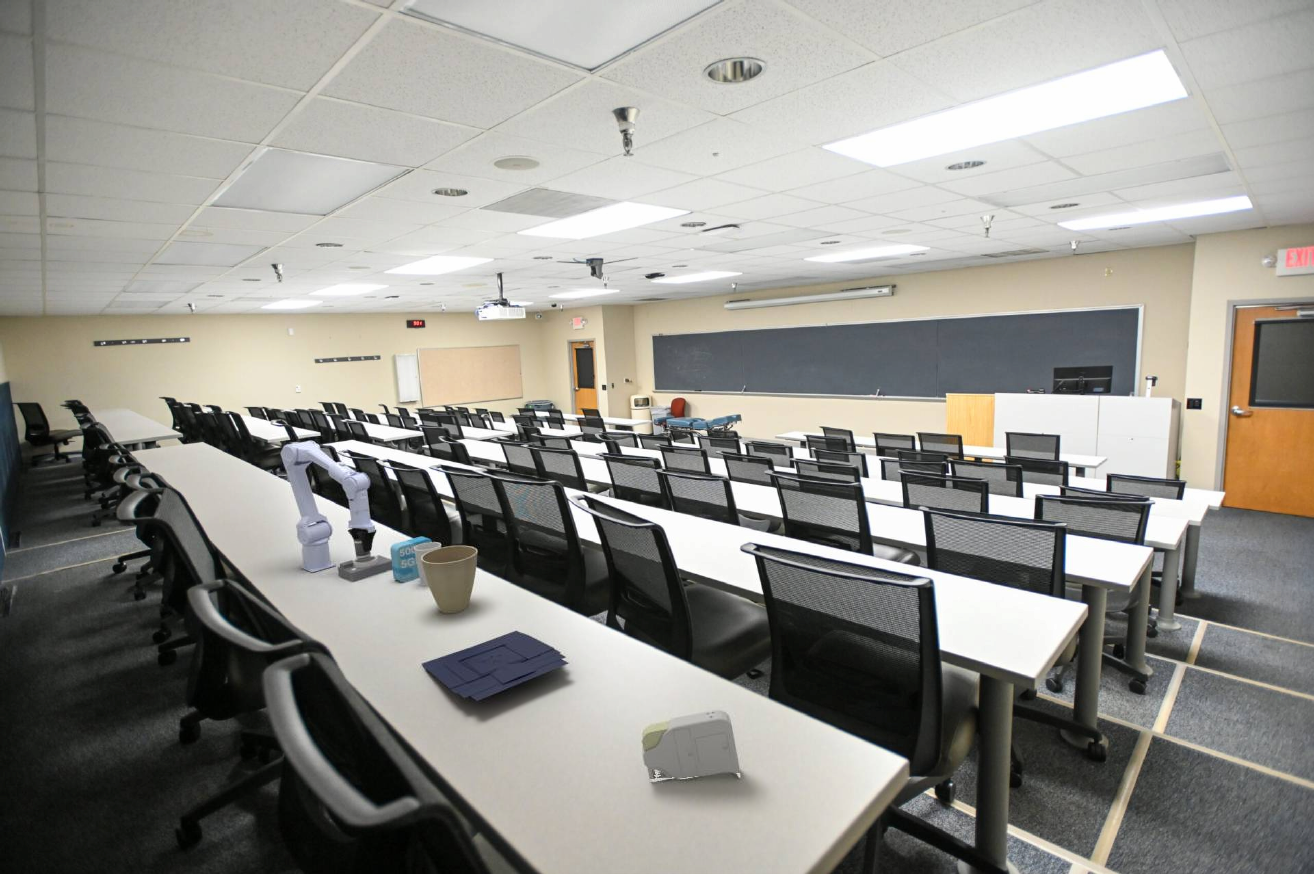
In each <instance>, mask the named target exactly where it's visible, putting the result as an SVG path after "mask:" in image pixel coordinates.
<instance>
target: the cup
mask: <svg viewBox="0 0 1314 874" xmlns="http://www.w3.org/2000/svg"><path fill="white" fill-rule="evenodd" d="M439 548H442V544H441V542H436V541H433V542H429V543H423V544H420V545H417V546H415V547H414V551H415V556H416V561H417V566H418V572H419V582H420V583H419V584H420V586H421V587H425V588H426V587H428V588H429V585H428V582H427V579H426V576H425V572H424V569H423V565H422V561H421V557H422V556H423V555H424V554H425V553H427V552H430V551H432V550H435V549H439Z"/></svg>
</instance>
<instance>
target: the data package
mask: <svg viewBox="0 0 1314 874" xmlns="http://www.w3.org/2000/svg"><path fill="white" fill-rule="evenodd" d="M432 541H433V540H431V538H428V537H425V536H418V537H415V538H414V537H413V538H410V539H407V540H403V541H399V542H396V543H393V544H392V545H391V546H390V549H389V550H390V551H389V552H390V559H391V560H392V577H393V579H395V580H396V581H398V582H401V583H407V582H409V581H412V580H415V579H418V578H419V579H420V577H419V572H418V566H417V561H416V556H415V551H414V547H415V546H417V545H420V544H423V543H429V542H432Z"/></svg>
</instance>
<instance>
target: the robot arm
mask: <svg viewBox="0 0 1314 874" xmlns="http://www.w3.org/2000/svg"><path fill="white" fill-rule="evenodd" d="M280 457H281V460H282V462H283V467H284V469H285V471H286V474H287V476H288V478H287V479H288V480H289V484H290V486H291V489H292V492H293V496H294V499H295V502H296V506H297V507H298V508H297V509H298V511H299V515H300V517H301V519H299V521H298V522H297V524H296V525H295V528H296V538H297V540H298V542H299V543H300V544H301V545H302V548H301V553H302V554H301V555H302V561H303V565H301V566H300V568H301V569H304V570H306V571H308V572H310V573H316V572H319V571H322V570H325V569H329V568H333V567H336V566H337V564H336V563H334V562H331V561H332V560H331V554H330V553H331V552H330V546H329V545H330V544H329V540H331V536H332V535H333V531H334V530H333V525H332V524H331V523H330V522H329V520H328V517H327V516H326V515H324V514H322V513H320V512H319V509H318V506H317V503H316V500H315V497H314V493H313V491H312V488H311V485H310V481H309V478H308V475H307V472H306V469H307V467H308V466H309V465H310V464H312V463H314V464H316V465H318V466H319V467H322V468H323V469H325V470H326V471H328V476H329V477H330V478H332V479H334V481H336V482H338V483H339V484H341V485H342V489H343V491H344V492H345V495H346V498H347V499H348V507H349V512H350V513H349V514H350V520H348V526H347V528H348V529H347V531H348V533H349V534H350V536H351V537H352V539H353V541H354V540H355V539H357V538H360V539H361V542H362V546H363V550H364V552H368V551H370V552H371V551H372V550H373V549H372V548H373V544H374V538H375V535H376V533H377V529H376V525H374V524H373V522H372V521H371V514H370V505H369V497H368V489H369V488H370V486H371V479H370V477H369V476H368V475H367V474H366V473H365V472H359V471H358V472H356V470H353V469H352V468H351V467H349V466H348V465H346V463H345V462H342V461H337V462H336V461H335V460H333V459H332V458H331V457H330V456H329V455H327V454H326V453H325V452H324V451H323V450H322V449H321V446H320V445H319V444H318V443H316V442H315V441H314V440H306V441H302V442H296V443H292V444H288V443H287V444H285V445H284V446H283V448H282V449H281V452H280Z"/></svg>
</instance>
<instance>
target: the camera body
mask: <svg viewBox="0 0 1314 874" xmlns="http://www.w3.org/2000/svg"><path fill="white" fill-rule="evenodd" d="M337 571H338V576H339V577H340V578H342V579H345V580H346V581H350V582H352V583H354V582H358V581H360V580H364V579H366V578H367V579H368V578H370V577H373V576H377V575H380V574H382V573H386V572H389V571H393V569H392V560H391V558H388V557H386V556H383V555H371V556H369V557H367V558H362V559H357V558H356V559H354V560H352V559H351V560H347V561H345V562H340V563H339V566H337Z"/></svg>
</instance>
